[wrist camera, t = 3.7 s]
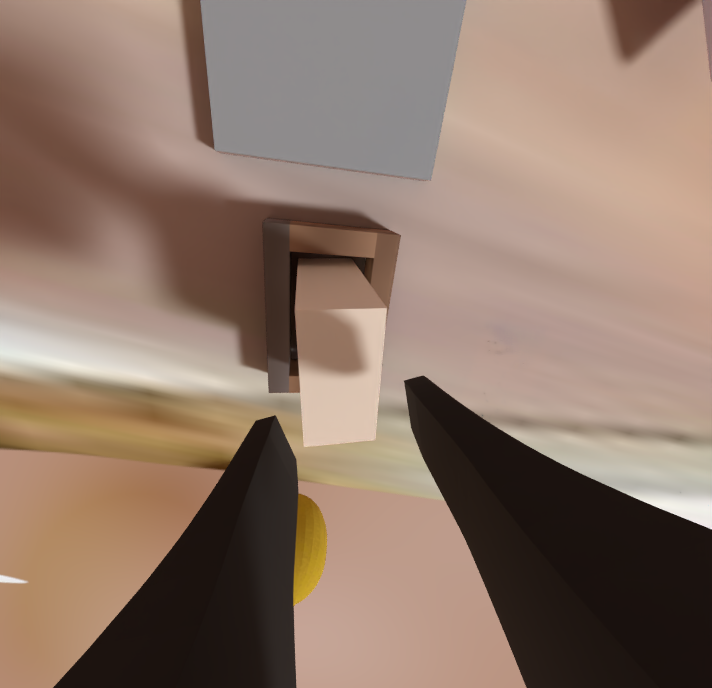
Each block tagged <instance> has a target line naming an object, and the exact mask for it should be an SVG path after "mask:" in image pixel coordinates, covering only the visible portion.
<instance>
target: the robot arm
mask: <svg viewBox="0 0 712 688" xmlns="http://www.w3.org/2000/svg"><path fill="white" fill-rule="evenodd" d="M702 5H703V14H704V23H705V32H706V42H707V51H708V60H709V69H710V78H711V81H712V0H702ZM404 383H405V390H406V396H407V403H408V409H409V416H410V422H411V428H412V431H413V434H414V436H415V439H416V441H417V444H418V447H419V449H420V452H421V454H422V457H423V459H424V461H425V463H426V465H427V467H428V469H429V470H430V472H431V474H432V476H433V478H434V480H435V482H436V484H437V486H438V488H439V490H440V492H441V493H442V495H443V497H444V499H445V501H446V503H447V505H448V507H449V508H450V511H451V513H452V514H453V516H454V518H455V520H456V522H457V524H458V526H459V528H460V530H461V532H462V534H463V536H464V538H465V540H466V542H467V545H468V547H469V549H470V551H471V554H472V556H473V558H474V561H475V563H476V565H477V568H478V570H479V572H480V575H481V577H482V579H483V582H484V584H485V587H486V589H487V591H488V594H489V596H490V599H491V601H492V603H493V606H494V608H495V611H496V613H497V616H498V618H499V620H500V623H501V625H502V628H503V630H504V632H505V635H506V637H507V640H508V642H509V645H510V647H511V650H512V652H513V655H514V657H515V660H516V662H517V665H518V667H519V670H520V672H521V675H522V677H523V680H524V682H525V685H526V687H527V688H712V529H709V528H707V527H704V526H702V525H699V524H697V523H694V522H692V521H689V520H687V519H684V518H682V517H679V516H677V515H674V514H672V513H669V512H667V511H664V510H662V509H659V508H657V507H654V506H652V505H650V504H647V503H645V502H643V501H640V500H638V499H636V498H634V497H631V496H629V495H627V494H625V493H622V492H620V491H618V490H616V489H614V488H611V487H609V486H607V485H605V484H602V483H600V482H598V481H596V480H594V479H591V478H589V477H587V476H585V475H583V474H580V473H578V472H576V471H574V470H572V469H570V468H568V467H566V466H564V465H562V464H560V463H558V462H556V461H555V460H553V459H551V458H549V457H547V456H545V455H543V454H541V453H539V452H538V451H536V450H534V449H532V448H530V447H529V446H527V445H525V444H523V443H522V442H520V441H518V440H516V439H515V438H513V437H511V436H510V435H508V434H507V433H505V432H503V431H502V430H500V429H498V428H497V427H495V426H494V425H492V424H490V423H489V422H487V421H486V420H484V419H483V418H481V417H480V416H478V415H477V414H475V413H474V412H472V411H471V410H470V409H468V408H467V407H465V406H464V405H462V404H461V403H460V402H458V401H457V400H455V399H454V398H453V397H451V396H450V395H449V394H447V393H446V392H445V391H443V390H442V389H441V388H439V387H438V386H437V385H435V384H434V383H433V382H432V381H430V380H429V379H428V378H426V377H425V376H420V377H416V378H412V379H409V380H405V381H404ZM297 511H298V477H297V463H296V458H295V456H294V454H293V452H292V450H291V447H290V445H289V443H288V441H287V439H286V437H285V434H284V432H283V430H282V428H281V426H280V424H279V422H278V419H277V417H276V415H275V416H271V417H268V418H264V419H260V420H257V421H255V423H254V425H253V426H252V428H251V429H250V431H249V433H248V434H247V436H246V437H245V439H244V441H243V442H242V444H241V446H240V447H239V449H238V451H237V452H236V454H235V456H234V457H233V459H232V461H231V462H230V464H229V465H228V467H227V469H226V470H225V472H224V473H223V475H222V477H221V478H220V480H219V482H218V483H217V484H216V486H215V488H214V489H213V491H212V492H211V494H210V495H209V497H208V498H207V500H206V501H205V503H204V504H203V505H202V507H201V508H200V510H199V511H198V513H197V514H196V516H195V517H194V518H193V520H192V522H191V523H190V524H189V526H188V527H187V529H186V530H185V531H184V533H183V534H182V535H181V537H180V538H179V540H178V541H177V542H176V543H175V545H174V546H173V547H172V549H171V550H170V551H169V553H168V554H167V555H166V556H165V558H164V559H163V560H162V562H161V563H160V564H159V565H158V567H157V568H156V569H155V571H154V572H153V573H152V574H151V576H150V577H149V578H148V579H147V581H146V582H145V583H144V584H143V586H142V587H141V588H140V589H139V590H138V592H137V593H136V594H135V595H134V596H133V597H132V599H131V600H130V601H129V602H128V604H127V605H126V606H125V607H124V608H123V609H122V610H121V612H120V613H119V614H118V615H117V616H116V617H115V618H114V620H113V621H112V622H111V623H110V624H109V626H108V627H107V628H106V629H105V630H104V631H103V633H102V634H101V635H100V636H99V637H98V638H97V639H96V641H95V642H94V643H93V644H92V645H91V646H90V648H89V649H88V650H87V651H86V652H85V653H84V654H83V655H82V657H81V658H80V659H79V660H78V661H77V662H76V663H75V664H74V666H72V668H71V669H70V670H69V671H68V672H67V673H66V674H65V675H64V676H63V677H62V679H61V680H60V681H59V682H58V683H57V684H56V685H55V686H54V687H53V688H296V669H295V643H294V608H293V607H294V606H293V592H294V565H295V548H296V530H297Z"/></svg>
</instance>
